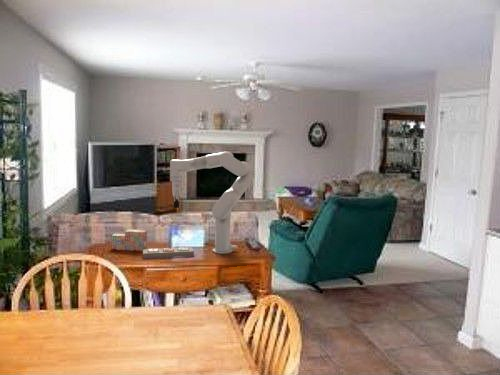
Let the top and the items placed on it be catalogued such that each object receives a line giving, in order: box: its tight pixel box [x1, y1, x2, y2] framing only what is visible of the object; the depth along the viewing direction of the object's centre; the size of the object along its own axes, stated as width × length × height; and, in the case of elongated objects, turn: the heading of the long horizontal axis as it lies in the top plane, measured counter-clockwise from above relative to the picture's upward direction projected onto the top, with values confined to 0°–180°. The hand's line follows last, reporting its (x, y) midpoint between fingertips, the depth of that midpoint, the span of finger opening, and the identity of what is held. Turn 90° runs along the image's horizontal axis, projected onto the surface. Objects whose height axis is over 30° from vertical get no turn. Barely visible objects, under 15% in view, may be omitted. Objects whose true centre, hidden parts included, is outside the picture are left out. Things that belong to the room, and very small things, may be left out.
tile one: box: [147, 248, 159, 253], centre depth 268 cm, size 6×6×3 cm
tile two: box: [177, 246, 188, 251], centre depth 272 cm, size 6×6×3 cm
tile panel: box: [142, 246, 195, 259], centre depth 270 cm, size 30×10×3 cm, turn 103°
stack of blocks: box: [110, 228, 148, 252], centre depth 283 cm, size 21×6×12 cm, turn 84°
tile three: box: [162, 247, 174, 252], centre depth 270 cm, size 6×6×3 cm
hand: (176, 207), depth 283 cm, fingers closed
